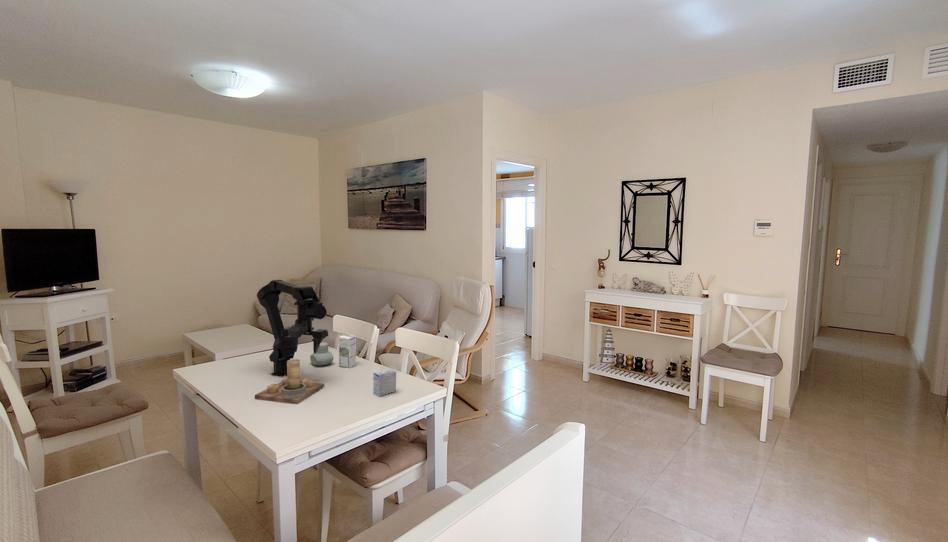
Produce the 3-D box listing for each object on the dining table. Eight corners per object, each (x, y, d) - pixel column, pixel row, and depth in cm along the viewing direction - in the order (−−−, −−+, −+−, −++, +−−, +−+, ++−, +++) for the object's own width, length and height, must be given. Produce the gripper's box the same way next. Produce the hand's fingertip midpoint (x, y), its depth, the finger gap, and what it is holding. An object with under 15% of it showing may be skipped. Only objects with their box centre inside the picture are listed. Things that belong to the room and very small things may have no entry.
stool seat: (254, 398, 162) (254, 387, 162) (285, 382, 180) (285, 372, 179) (297, 404, 158) (296, 392, 158) (324, 387, 176) (324, 376, 176)
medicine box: (389, 389, 176) (390, 368, 175) (396, 392, 172) (396, 371, 172) (372, 393, 170) (373, 372, 169) (379, 397, 167) (379, 375, 166)
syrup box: (356, 364, 206) (356, 335, 205) (349, 368, 201) (348, 337, 199) (346, 363, 208) (346, 333, 207) (338, 366, 202) (338, 336, 201)
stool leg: (285, 394, 163) (284, 360, 162) (296, 391, 167) (296, 358, 166) (291, 397, 161) (290, 363, 159) (302, 394, 164) (301, 360, 163)
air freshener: (308, 363, 207) (308, 342, 206) (325, 360, 213) (325, 340, 212) (318, 368, 199) (317, 347, 198) (335, 365, 205) (335, 344, 204)
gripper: (272, 318, 175) (273, 356, 176) (313, 321, 171) (313, 360, 172) (289, 313, 186) (290, 349, 187) (328, 316, 182) (329, 352, 183)
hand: (305, 352), depth 182 cm, fingers open, 9 cm apart
